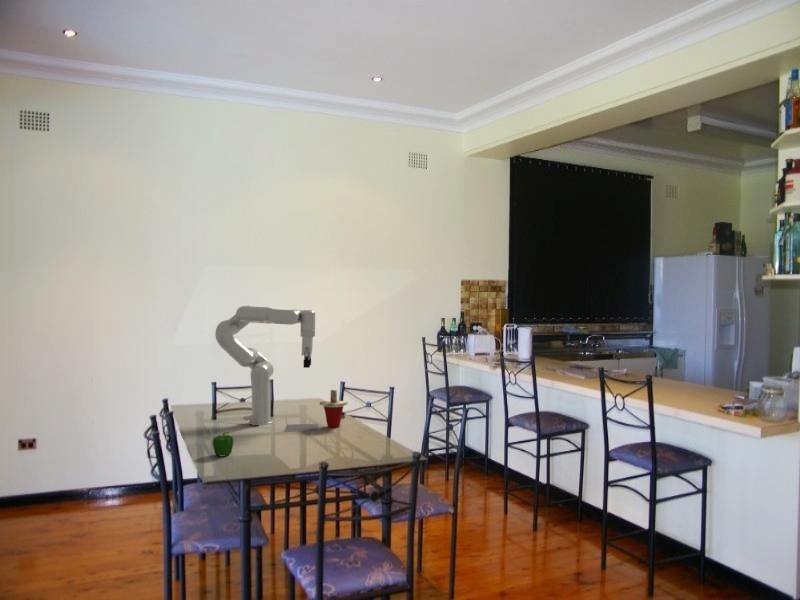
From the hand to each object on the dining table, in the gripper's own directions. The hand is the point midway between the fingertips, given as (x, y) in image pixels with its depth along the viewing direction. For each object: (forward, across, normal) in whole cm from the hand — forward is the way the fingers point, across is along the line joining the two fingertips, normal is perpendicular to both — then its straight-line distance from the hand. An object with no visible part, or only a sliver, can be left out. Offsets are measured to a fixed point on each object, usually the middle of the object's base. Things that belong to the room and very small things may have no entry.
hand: (307, 366), depth 316 cm
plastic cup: (+30, +12, +14) cm, 35 cm away
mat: (+30, +13, -2) cm, 33 cm away
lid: (+18, +11, +14) cm, 25 cm away
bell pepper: (+31, +58, -31) cm, 73 cm away
